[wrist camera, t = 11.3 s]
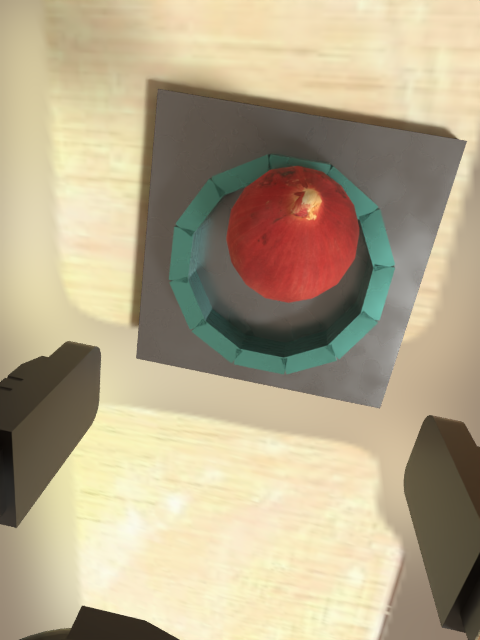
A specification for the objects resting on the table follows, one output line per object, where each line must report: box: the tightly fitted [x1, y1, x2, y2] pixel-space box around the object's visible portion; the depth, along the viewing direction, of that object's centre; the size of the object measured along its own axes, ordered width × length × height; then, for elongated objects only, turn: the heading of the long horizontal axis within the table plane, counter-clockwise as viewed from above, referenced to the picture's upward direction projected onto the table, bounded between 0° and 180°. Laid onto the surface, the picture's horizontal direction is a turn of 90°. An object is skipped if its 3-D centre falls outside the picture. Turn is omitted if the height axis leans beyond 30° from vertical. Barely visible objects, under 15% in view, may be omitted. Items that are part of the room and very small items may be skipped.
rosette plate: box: [136, 89, 467, 408], centre depth 24 cm, size 15×15×3 cm
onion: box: [226, 166, 359, 303], centre depth 20 cm, size 6×6×8 cm
